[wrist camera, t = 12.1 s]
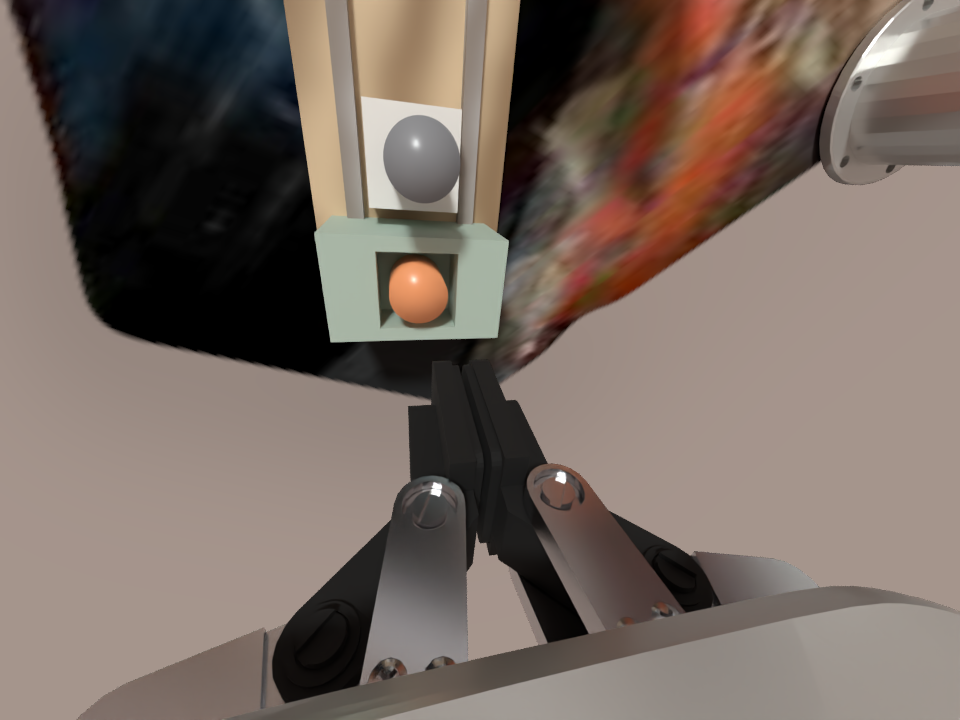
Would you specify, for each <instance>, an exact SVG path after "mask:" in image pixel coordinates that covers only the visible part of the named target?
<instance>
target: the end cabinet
mask: <svg viewBox="0 0 960 720" xmlns="http://www.w3.org/2000/svg"><path fill="white" fill-rule="evenodd" d="M314 234H315V240H316V247H317V254H318V260H319V267H320V274H321V280H322V287H323V294H324V300H325V307H326V313H327V320H328V327H329V333H330V340H331V342H356V341H393V340H431V339H469V338H497V337H498V328H499V320H500V311H501V303H502V294H503V286H504V278H505V269H506V261H507V252H508V244H509V241H508V240H507V239H505V238H504V237H502V236H501V235H500V234H498V233H497V232H495V231H494V230H493V229H491V228H490V227H488V226H487V225H485V224H484V223H473V224H472V225H470V224H458V223H457V222H447V221H428V220H409V219H391V218H372V217H365V218H364V219H354V218H347V216H334V215H332V216H331V217H330V218H329V219H328V220H327V221H326V222H325V223H324V224H323V225H322V226H321V227H320V228H319V229H318V230H317V231H316V232H315V233H314ZM410 254H419V255H423V256H426V257H428V258H429V259H431V260H432V261H433V262H434V263H435V264H436V265H437V267H438V268H439V270H440V273H441V275H442V277H443V280H444V282H445V284H446V287H447V290H448V301H447V305H446V307H445V309H444V311H443V312H442V313H441V314H440V315H439V316H438V317H437V318H436V319H434V320H432V321H430V322H427V323H411V322H408V321H406V320H404V319H402V318H401V317H399V316H398V315H397V314H396V313H395V311H394V310H393V308H392V306H391V304H390V300H389V275H390V271H391V269H392V267H393V265H394V264H395V262H396V261H398V260H399V259H400V258H402V257H404V256H406V255H410Z"/></svg>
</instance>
